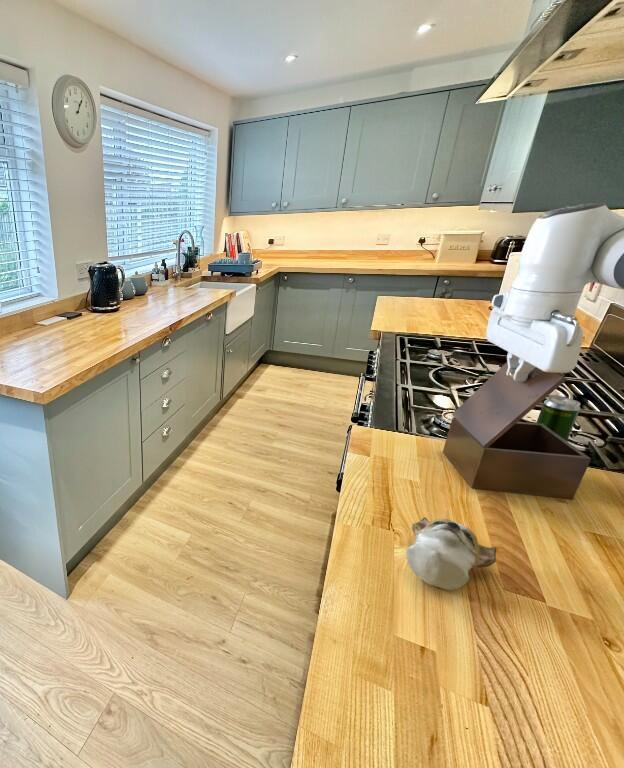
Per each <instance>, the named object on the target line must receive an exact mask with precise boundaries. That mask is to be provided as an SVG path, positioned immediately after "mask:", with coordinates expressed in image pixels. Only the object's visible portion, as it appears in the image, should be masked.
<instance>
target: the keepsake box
mask: <svg viewBox="0 0 624 768" xmlns="http://www.w3.org/2000/svg"><path fill="white" fill-rule="evenodd" d="M442 453H443V455H444V456H445V457H446V459H447V460H448V461H449V462H450V463H451V465H452V466H453V467H454V468H455V470H456V472H458V473H459V475H460V476H461V477H462V478H463V480H464V482H466V483H467V485H468V486H469V487H470V488H471V489H475V490H482V491H483V490H484V491H494V492H503V493H511V494H520V495H528V496H536V497H546V498H555V499H556V498H557V499H565V500H574V498H575V496H576V494H577V491H578V490H579V487H580V485H581V483H582V480H583V478H584V476H585V473H586V472H587V470H588V467H589V465H590V462H591V460H592V458H591V457H589V456H588V455H586V453H584V452H582V451H581V450H580V449H579V448H577V447H576V446H574V445H573V444H571V443H570V442H569V441H568V440H567V441H566V440H564V439H563V438H562V437H560V436H559V435H558V434H556V433H555V432H553V431H552V430H551V429H549V428H548V427H547V426H545V425H544V424H540V423H536V422H525V421H524V422H523V421H518V422H517V423H516V424H515V425H513V426H512V427H511V428H510V429H509V430H507V431H506V432H505V433H504V434H503V435H502V436H500V437H499V438H498V439H497V440H496V441H495V442H493V443H492V444H491V445H490V446H489V447H488V448H486V447H484V446H483V445H482V444H481V443H480V442H479V441H478V440H477V439H476V438H475V437H474V436H473V435H472V434H471V433H470V432H469V431H468V430H467V429H466V428H465V427H464V426H463V425H462V424H461V423H460V422H459V421H458V420H457V419H456V418H455V417H454V416H452V417H451V421H450V425H449V428H448V433H447V435H446V439H445V443H444V446H443V450H442Z"/></svg>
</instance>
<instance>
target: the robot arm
mask: <svg viewBox="0 0 624 768" xmlns="http://www.w3.org/2000/svg"><path fill="white" fill-rule="evenodd" d="M518 258H519V259H518V272H517V275H516V277H515V279H514V280H513V281H512V283H511V285H510V289H509V291H506V292H502V293H498V294H495V295H493V297H492V299H491V306H492V307H493V308H492V310H491V312H490V314H489V317H488V321H487V326H486V330H485V337H486V340H487V342H489V343H492V344H493V345H494V346H497V347H498V348H500V349H502V350H504V351H506V352H507V355H506V362H508V370H507V373H506V375H507V376H509V377H510V378H512V379H514V380H515V381H521V382H524V381H526V380H527V377H528V375H529V373H530V372H531V371H532V370H533V369H534V368H535V367H537V368H539V369H541V370H542V371H544V372H552V373H558V374H569V373H570V372H571V371H573V370H574V369H575V368H576V366H577V364H578V360H579V357H580V353H581V350H582V345H583V339H584V333H583V329H582V326H581V325H580V324H579V321H578V320H579V319H578V317H576V316H575V313H576V310H577V308H578V305H579V302H580V299H581V297H582V294H583V292H584V290H585V289H584V288H585V287H586V286H587V285H588V284H591V283H596V284H599V285H603V286H606V287H609V288H614V289H618V290H623V291H624V216H623V215H620V214H618V213H617V212H614V211H613V210H611V209H609V208H608V206H607V205H606V204H604V203H600V202H590V203H589V202H588V203H581V204H570V205H565V206H561V207H555V208H553V209H550V210H547V211H545V212H543V213H541V214H540V215H539V216H538V217H537V218H536V219H535V220H534V222H533V223H532V226H531V227H530V229H529V231H528V234H527V237H526V238H525V241H524V244H523V246H522V250H521V253H520V256H519V257H518Z"/></svg>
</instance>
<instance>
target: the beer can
mask: <svg viewBox="0 0 624 768" xmlns="http://www.w3.org/2000/svg"><path fill="white" fill-rule="evenodd" d="M580 411H581V402H580V401H578V400H575V399H572V398H569V397H564V396H555V395H551V396H550V395H549V396H547V397H546V400H545V399H544V400H543V404H542V406H541V409H540V411H539V415H538V417H537V420H536V422H535V423H540V424H544V425H545V426H547V427H548V428H549V429H551V430H552V431H553V432H555V433H556V434H558V435H559V436H560V437H562V438H563V439H564V440H566V441H567V442H568V440H569V438H570V434H571V432H572V430H573V427H574V425H575V423H576V420H577V418H578V415H579V413H580Z"/></svg>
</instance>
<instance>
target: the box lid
mask: <svg viewBox="0 0 624 768" xmlns="http://www.w3.org/2000/svg"><path fill="white" fill-rule="evenodd" d="M507 370H508V362H507V361H506V362H504V364H503V365H502V366H501V367H500V368H499V369H498V370H496V372H494V374H492V376H490V377H489V378H488V379H487V380H486V381H485V382H484V383H483V384H482V385H481V386H480V387H479V388H478V389H476V390H475V392H473V394H471V395H470V396H469V397H468V398H467V399H466V400H465V401H464V402H463V403H462V404H461V405H460V406H458V407H457V408H456V410H454V411H453V412H452V413H451V416H452V417H455V418H456V419H457V420H458V421H459V422H460V423H461V424H462V425H463V426H464V427H465V428H466V429H467V430H468V431H469V432H470V433H471V434H472V435H473V436H474V437H475V438H476V439H477V440H478V441H479V442H480V443H481V444H482V445H483V446H484V447H486V448H488V447H489V446H490V445H491V444H492V443H493V442H495V441H496V440H497V439H498V438H499V437H500V436H502V435H503V434H504V433H505V432H506V431H507V430H509V429H510V428H511V427H512V426H513V425H515V424H516V423H517V422H520V420H522V419H523V418H524V417H525V416H527V415H528V414H529V413H530V412H531V411H533V409H535V408H536V407H537V406H538V405H539V404H540V403H541V402H544V401H545V399H547V397H549V396H550V395H551V394H552V393H553V392H555V391H556V390H557V389H558V388H559V387H560V386H561V385H562V384H564V383H565V382H566V381H567V380H568V378H567V377H565V376H563V375H561V374H560V373H552V372H544V371H542V370H541V369H539V368H537V367H535V368H534V369H533V370H532V371H531V372H530V373H529V375H528V377H527V380H526V381H524V382H521V381H515V380H514V379H512V378H510V377H509V376H507V375H506V373H507Z"/></svg>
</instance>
